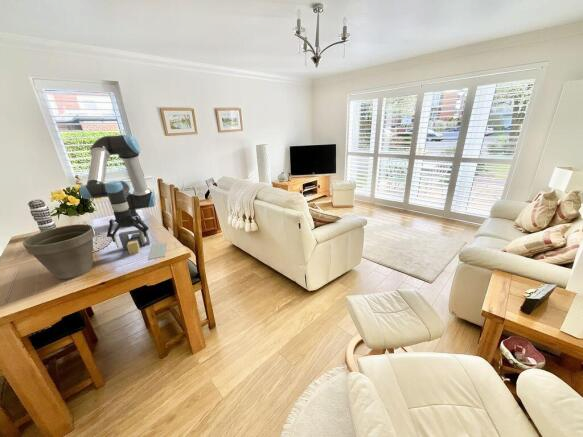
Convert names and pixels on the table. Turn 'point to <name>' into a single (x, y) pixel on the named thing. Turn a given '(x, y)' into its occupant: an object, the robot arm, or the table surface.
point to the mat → (158, 251)
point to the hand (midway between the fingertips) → (132, 244)
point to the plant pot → (63, 250)
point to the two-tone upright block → (134, 244)
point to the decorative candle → (41, 215)
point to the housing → (125, 239)
